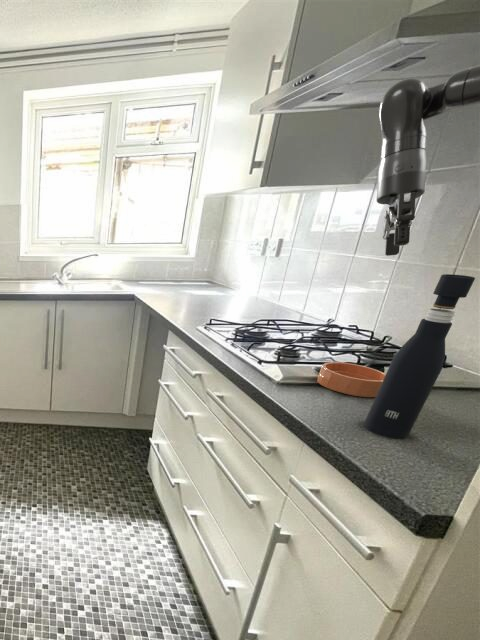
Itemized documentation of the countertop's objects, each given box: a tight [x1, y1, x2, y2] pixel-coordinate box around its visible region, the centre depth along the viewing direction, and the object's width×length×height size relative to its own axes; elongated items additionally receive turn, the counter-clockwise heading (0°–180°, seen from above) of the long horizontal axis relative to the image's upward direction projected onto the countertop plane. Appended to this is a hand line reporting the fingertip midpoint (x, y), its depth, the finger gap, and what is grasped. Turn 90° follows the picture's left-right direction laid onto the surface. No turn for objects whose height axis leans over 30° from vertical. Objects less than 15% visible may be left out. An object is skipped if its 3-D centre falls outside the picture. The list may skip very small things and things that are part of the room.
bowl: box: [316, 361, 386, 398], centre depth 100 cm, size 12×12×4 cm
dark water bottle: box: [363, 273, 476, 440], centre depth 75 cm, size 6×6×30 cm
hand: (396, 250), depth 93 cm, fingers open, 8 cm apart
